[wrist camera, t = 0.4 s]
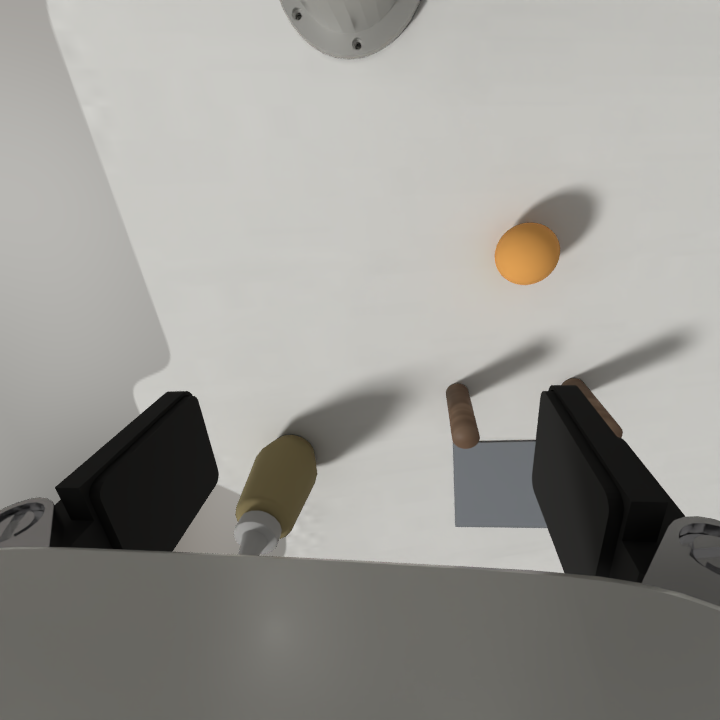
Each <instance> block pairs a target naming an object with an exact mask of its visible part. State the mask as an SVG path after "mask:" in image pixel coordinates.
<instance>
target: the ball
mask: <svg viewBox="0 0 720 720" xmlns="http://www.w3.org/2000/svg"><path fill="white" fill-rule="evenodd" d="M559 256H560V245H559V241H558V239H557V237H556V235H555V234H554V233H553V232H552V230H550V229H549V228H548V227H546V226H544V225H542V224H538V223H523V224H519V225H517V226H515V227H513V228H511V229H510V230H508V231H507V232H506V233H505V234H504V235H503V236H502V237H501V239H500V240H499V242H498V244H497V247H496V251H495V263H496V266H497V269H498V271H499V272H500V274H501V275H502V276H503V277H504V278H505V279H507V280H508V281H510V282H512V283H515V284H520V285H529V284H534V283H537V282H539V281H541V280H543V279H544V278H546V277H547V276H548V275H549V274H550V273H551V272H552V271H553V270H554V268H555V267H556V265H557V263H558V260H559Z"/></svg>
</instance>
